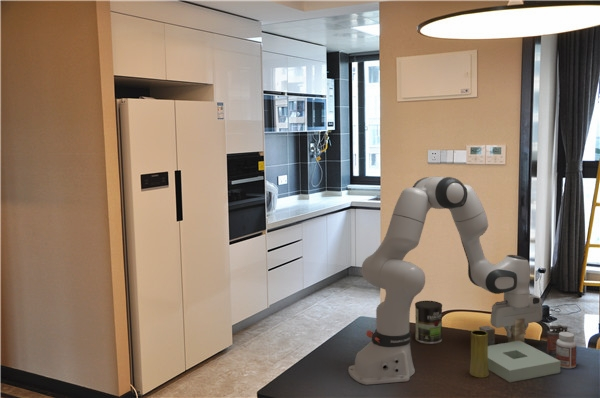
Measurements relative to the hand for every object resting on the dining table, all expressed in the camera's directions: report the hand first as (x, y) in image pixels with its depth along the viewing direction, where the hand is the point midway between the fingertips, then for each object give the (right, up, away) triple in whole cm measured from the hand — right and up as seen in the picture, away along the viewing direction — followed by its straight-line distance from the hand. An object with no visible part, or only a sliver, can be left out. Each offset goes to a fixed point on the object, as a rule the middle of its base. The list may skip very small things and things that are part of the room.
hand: (516, 335), depth 207 cm
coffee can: (-29, -5, +13) cm, 32 cm away
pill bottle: (+11, -7, -15) cm, 20 cm away
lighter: (+14, -5, -3) cm, 15 cm away
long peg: (0, -5, +1) cm, 5 cm away
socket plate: (-6, -7, -14) cm, 16 cm away
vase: (-20, -8, -19) cm, 29 cm away
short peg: (-8, -5, +7) cm, 12 cm away
